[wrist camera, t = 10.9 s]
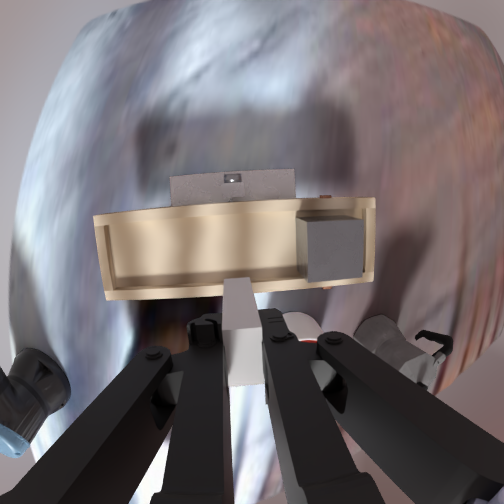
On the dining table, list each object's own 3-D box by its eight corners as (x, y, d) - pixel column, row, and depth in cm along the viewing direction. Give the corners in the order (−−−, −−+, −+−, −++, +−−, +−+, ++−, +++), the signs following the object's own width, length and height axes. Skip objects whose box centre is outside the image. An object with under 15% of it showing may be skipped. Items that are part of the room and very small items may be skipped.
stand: (182, 293, 45) (169, 323, 34) (171, 176, 41) (151, 173, 30) (296, 285, 46) (314, 313, 35) (292, 169, 42) (312, 163, 31)
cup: (261, 309, 46) (269, 339, 37) (321, 308, 47) (342, 335, 37) (259, 361, 49) (266, 397, 39) (315, 358, 49) (331, 391, 39)
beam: (116, 293, 35) (106, 302, 31) (105, 210, 32) (93, 213, 29) (361, 275, 37) (373, 283, 33) (362, 194, 34) (375, 195, 31)
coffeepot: (355, 371, 51) (395, 432, 33) (334, 341, 49) (375, 404, 31) (416, 323, 50) (472, 367, 32) (401, 289, 48) (463, 330, 30)
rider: (296, 269, 33) (307, 283, 28) (295, 217, 32) (306, 222, 27) (345, 265, 34) (362, 277, 29) (345, 215, 32) (363, 219, 28)
